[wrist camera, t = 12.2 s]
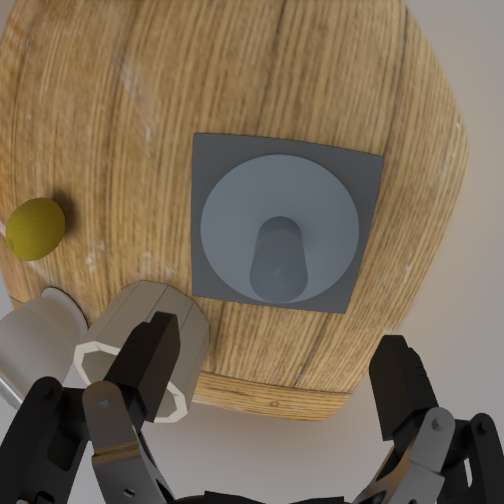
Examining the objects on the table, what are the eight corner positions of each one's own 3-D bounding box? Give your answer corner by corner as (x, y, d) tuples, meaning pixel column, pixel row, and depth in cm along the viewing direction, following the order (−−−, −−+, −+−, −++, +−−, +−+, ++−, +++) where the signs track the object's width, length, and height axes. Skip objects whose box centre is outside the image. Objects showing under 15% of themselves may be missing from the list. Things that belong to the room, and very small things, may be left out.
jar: (108, 345, 31) (54, 434, 17) (62, 341, 32) (12, 410, 19) (70, 275, 26) (-13, 360, 13) (28, 281, 28) (-38, 346, 15)
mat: (195, 133, 19) (193, 133, 18) (381, 156, 18) (384, 157, 18) (194, 292, 25) (192, 295, 24) (344, 309, 24) (345, 313, 24)
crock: (108, 273, 25) (58, 327, 17) (208, 290, 25) (179, 363, 17) (127, 347, 30) (95, 402, 22) (210, 366, 29) (191, 432, 21)
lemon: (82, 198, 22) (24, 230, 15) (77, 246, 24) (28, 285, 17) (47, 181, 22) (-9, 206, 14) (44, 227, 24) (-5, 258, 17)
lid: (206, 147, 19) (170, 158, 13) (369, 167, 18) (408, 188, 12) (203, 288, 24) (179, 340, 18) (337, 304, 23) (351, 360, 17)
